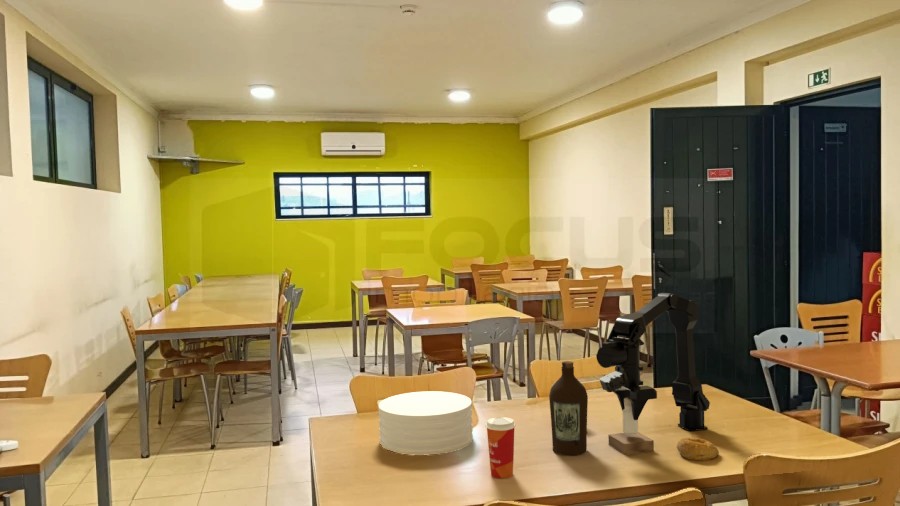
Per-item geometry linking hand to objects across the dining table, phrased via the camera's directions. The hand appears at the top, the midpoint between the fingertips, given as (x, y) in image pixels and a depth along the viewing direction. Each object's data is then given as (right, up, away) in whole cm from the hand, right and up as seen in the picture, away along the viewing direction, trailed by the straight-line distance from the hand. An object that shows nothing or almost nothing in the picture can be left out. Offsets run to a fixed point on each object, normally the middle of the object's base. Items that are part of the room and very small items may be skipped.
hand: (630, 417), depth 189 cm
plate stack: (-58, -10, +13) cm, 60 cm away
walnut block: (0, -9, 0) cm, 9 cm away
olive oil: (-17, -9, 0) cm, 20 cm away
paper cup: (-38, -11, -17) cm, 43 cm away
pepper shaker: (0, -4, 0) cm, 4 cm away
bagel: (+16, -9, -7) cm, 20 cm away
